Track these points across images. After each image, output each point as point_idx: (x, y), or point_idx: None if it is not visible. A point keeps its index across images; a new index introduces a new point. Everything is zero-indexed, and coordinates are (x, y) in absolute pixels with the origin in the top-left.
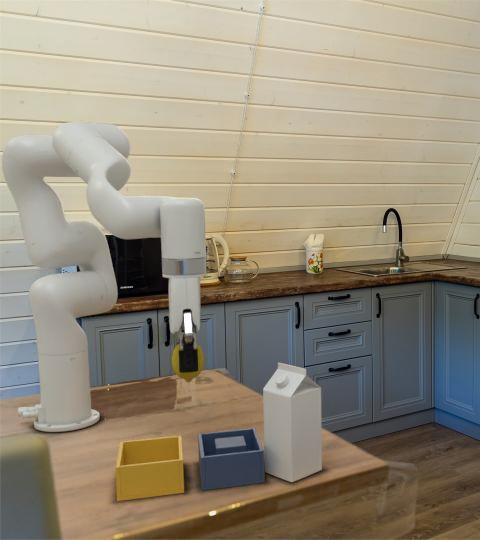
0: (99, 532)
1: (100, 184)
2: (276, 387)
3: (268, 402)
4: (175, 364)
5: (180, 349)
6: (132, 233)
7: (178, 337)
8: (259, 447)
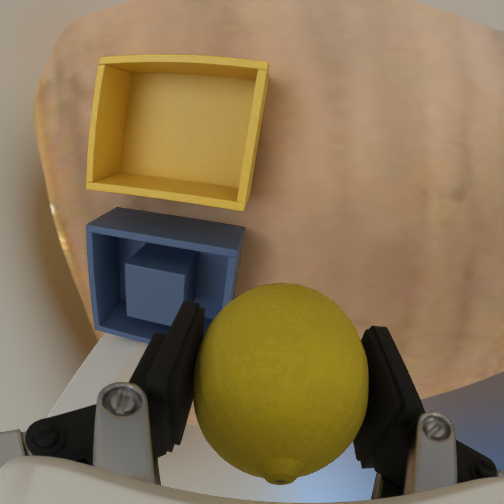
0: (50, 59)
1: None
2: None
3: (89, 403)
4: (237, 308)
5: (103, 388)
6: None
7: (416, 441)
8: (110, 329)
